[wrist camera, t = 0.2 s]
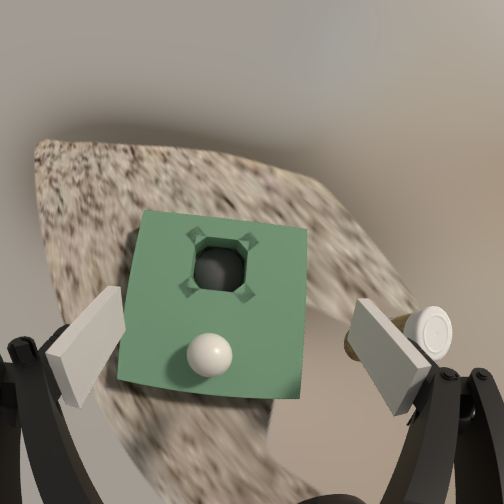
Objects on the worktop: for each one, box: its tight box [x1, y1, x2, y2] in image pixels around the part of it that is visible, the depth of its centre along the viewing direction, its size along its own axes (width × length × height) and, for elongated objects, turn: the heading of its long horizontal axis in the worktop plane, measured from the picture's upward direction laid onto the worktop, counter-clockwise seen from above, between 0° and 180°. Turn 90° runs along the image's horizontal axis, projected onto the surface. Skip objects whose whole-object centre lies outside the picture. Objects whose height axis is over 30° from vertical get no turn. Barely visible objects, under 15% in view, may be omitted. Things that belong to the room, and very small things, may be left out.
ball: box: [187, 333, 232, 377], centre depth 23 cm, size 4×4×4 cm
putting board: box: [117, 210, 307, 399], centre depth 28 cm, size 18×18×3 cm
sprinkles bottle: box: [344, 306, 452, 362], centre depth 24 cm, size 5×5×14 cm
